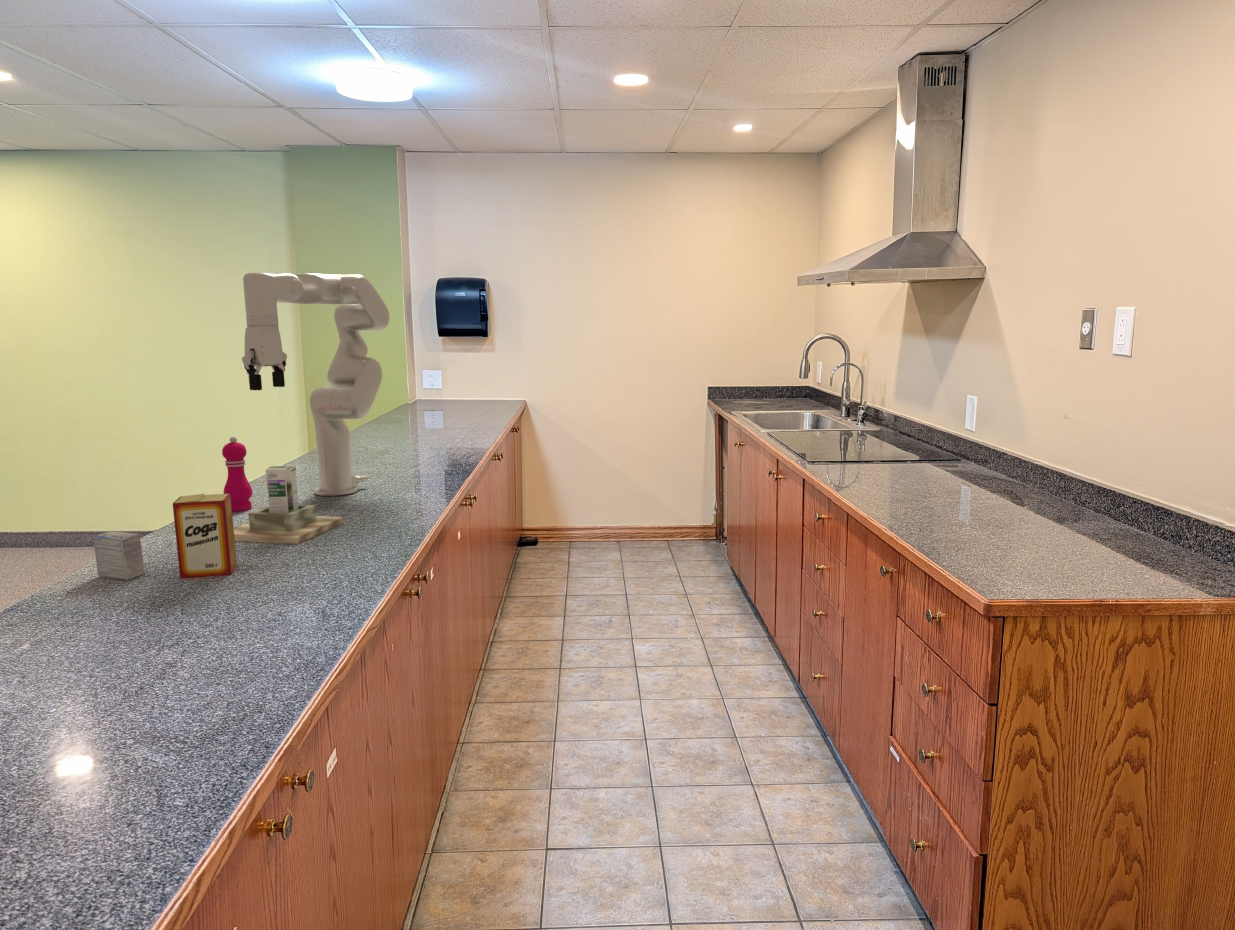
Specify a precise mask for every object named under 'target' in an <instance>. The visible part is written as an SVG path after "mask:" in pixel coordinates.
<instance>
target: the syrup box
mask: <svg viewBox="0 0 1235 930" xmlns="http://www.w3.org/2000/svg"><path fill="white" fill-rule="evenodd" d="M296 467H297V466H296V464H294V465H270V466H269V467H267V468H266V469H265V478H266V479H265V480H266V490H267V491H266V492H267V501H268V506H269V513H282V514H288V513H291V512H293V511H296V510H299V506H298V504H299V493H298V483H297V482H298V481H297V468H296Z"/></svg>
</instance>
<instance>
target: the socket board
mask: <svg viewBox="0 0 1235 930" xmlns="http://www.w3.org/2000/svg"><path fill="white" fill-rule="evenodd" d="M298 506H299V510H296V511H293V512H291V513H288V514H282V513H269V505H268V506H264V507H262V508H260V509H257V510H254V511H251V512H248V522H247V523H245V524H242V525H239V526H236V527H233V529H234V540H235V541H237V542H238V541H240V542H257V543H272V544H288V545H289V544H290V545H299V544H301V543H303V542H305V541H307V540H310V539H312V538H315V537H316V536H318V535H320V534H322V533H325V532H327V531H328V530H329V531H330V530H331V529H333V528H335V526H336V527H337V526H340V525H342V524H344V521H343V519H344V517H342V516H326V515H325V516H324V515H323V516H322V515H320V516H319V515H317V507H316V506H317V505H316V504H299V503H298Z"/></svg>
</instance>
